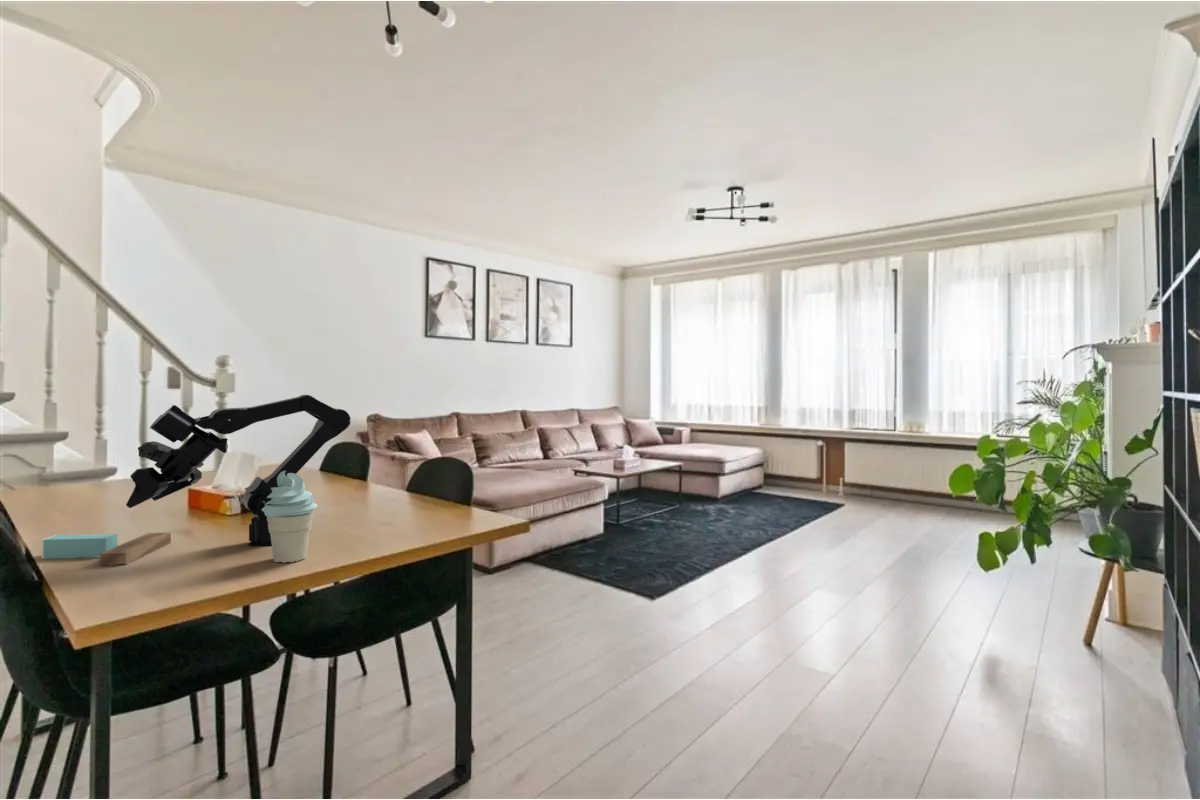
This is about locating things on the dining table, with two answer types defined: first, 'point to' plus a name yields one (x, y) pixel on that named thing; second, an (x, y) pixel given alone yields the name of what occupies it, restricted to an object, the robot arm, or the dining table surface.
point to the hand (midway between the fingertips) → (141, 502)
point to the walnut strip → (135, 548)
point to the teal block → (77, 545)
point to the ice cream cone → (289, 518)
